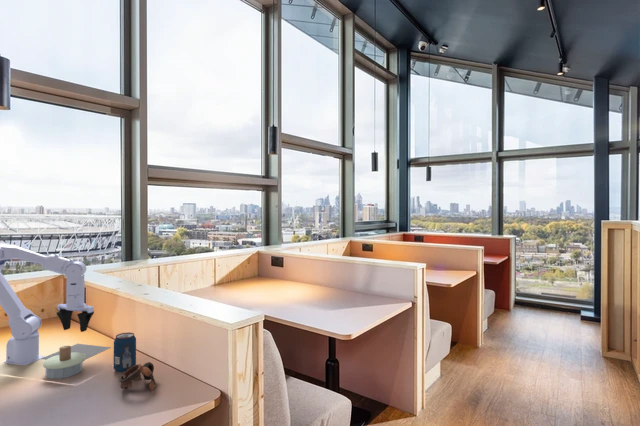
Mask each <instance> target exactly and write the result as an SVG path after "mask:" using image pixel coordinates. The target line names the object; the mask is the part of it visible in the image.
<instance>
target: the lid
mask: <svg viewBox="0 0 640 426" xmlns="http://www.w3.org/2000/svg"><path fill="white" fill-rule="evenodd" d="M71 346H72V345H63V346H60V347H59V350H58V351H59V355H56V356H53V357H50V358H48V359H46V360H45V359H44V361H43V362H42V365H43V368H44V369H45V368H47V369H61V368H67V367H71V366H75V365H77V364H80V363H82V364H83V362H84V361H86V360H87V359H86V355H85V354H84V353H78V352H73V353H71ZM85 359H86V360H85Z"/></svg>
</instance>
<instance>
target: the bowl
mask: <svg viewBox="0 0 640 426" xmlns="http://www.w3.org/2000/svg"><path fill="white" fill-rule="evenodd" d="M44 369H45V370H44V371H45V377H46V378H47V379H51V380H59V379H65V378H71V377H73V376H75V375H78V374H79V373H81V371H82V370H83V362H82V363H80V364H77V365H75V366H71V367H67V368H61V369H47V368H44Z"/></svg>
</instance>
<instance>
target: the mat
mask: <svg viewBox="0 0 640 426" xmlns="http://www.w3.org/2000/svg"><path fill="white" fill-rule="evenodd" d="M70 346H71V353H73V352H78V353H84V354H85V355H86V359H85V361H86V360H87V359H89V358H92V357H94V356H96V355H98V354H101V353H103V352H105V351H107V350H109V349H111V348H112V347H111V346H109V347H108V346H100V345H93V344H83V343H76V344H73V345H70ZM56 355H59V350H58V351H56V352H54V353H51V354H49V355H46V356H45V357H44V358H41V359H40V360H44V361H45V360H46V359H48V358H50V357H53V356H56Z"/></svg>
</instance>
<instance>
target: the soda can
mask: <svg viewBox="0 0 640 426" xmlns="http://www.w3.org/2000/svg"><path fill="white" fill-rule="evenodd" d="M134 365H137V338H136V336H135V333H134V332H121V333H118V334H117V335H115V339H114V340H113V370H114V371H115V372H116V373H118V374H124V373H125V372H126V371H127V370H128V369H130V368H131V367H133V366H134Z"/></svg>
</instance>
